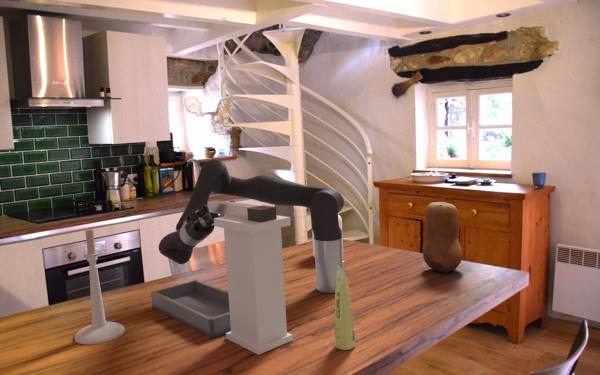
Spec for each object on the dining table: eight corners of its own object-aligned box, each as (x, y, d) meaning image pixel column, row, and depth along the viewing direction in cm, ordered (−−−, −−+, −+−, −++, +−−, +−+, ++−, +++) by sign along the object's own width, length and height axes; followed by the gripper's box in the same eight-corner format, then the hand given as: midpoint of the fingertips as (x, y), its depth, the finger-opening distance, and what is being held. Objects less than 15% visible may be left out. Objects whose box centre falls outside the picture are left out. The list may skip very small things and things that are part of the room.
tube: (329, 346, 123) (325, 269, 121) (341, 339, 127) (337, 264, 125) (348, 352, 120) (344, 273, 117) (359, 345, 124) (356, 268, 121)
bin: (152, 307, 158) (151, 291, 158) (197, 294, 169) (195, 279, 168) (211, 338, 132) (210, 320, 131) (260, 320, 143) (259, 303, 142)
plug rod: (205, 212, 138) (204, 201, 137) (220, 209, 141) (219, 199, 141) (260, 222, 119) (259, 210, 119) (276, 219, 122) (276, 207, 122)
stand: (222, 338, 132) (213, 218, 128) (258, 324, 140) (251, 211, 136) (259, 356, 120) (250, 225, 116) (296, 340, 128) (290, 217, 124)
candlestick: (112, 321, 148) (102, 221, 144) (132, 332, 138) (122, 226, 135) (67, 335, 139) (55, 229, 135) (86, 348, 130) (73, 235, 126)
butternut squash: (466, 268, 182) (466, 200, 179) (456, 278, 171) (455, 206, 168) (429, 264, 190) (428, 198, 187) (417, 273, 178) (415, 204, 175)
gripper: (170, 221, 144) (193, 196, 132) (213, 213, 153) (237, 190, 142) (178, 245, 142) (202, 222, 130) (221, 236, 151) (247, 214, 140)
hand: (220, 205), depth 136 cm, fingers open, 8 cm apart
